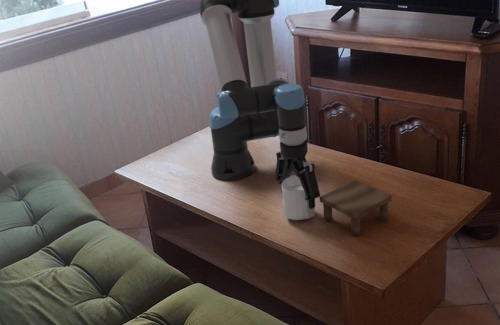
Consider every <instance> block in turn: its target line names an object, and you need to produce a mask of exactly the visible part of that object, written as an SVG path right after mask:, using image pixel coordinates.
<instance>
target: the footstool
mask: <svg viewBox="0 0 500 325" xmlns="http://www.w3.org/2000/svg"><path fill="white" fill-rule="evenodd" d="M392 199H393V198H392V195H391V194H388V193H386V192H384V191H381V190H379V189H377V188H375V187H372V186H370V185H368V184H365V183H363V182H360V181H358V180H356V179H354V180H353V181H349V182H347V183H346V184H343V185H342V186H340V187H338V188H336V189H333V190H331V191H329V192H327V193H325V194H322V195H320V197H319V202H320V203H322V207H323V221H324V222H326V223H330V222H332V221H333V219H334V218H333V209H334V210H336V211H338V212H340V213H341V214H344V215H346V216H347V217H349V218H350V224H351V225H350V226H351V227H350V228H351V236H352V237H356V238H357V237H360V236H361V217H363V216H365V215H366V214H368V213H371V212H373V211H375V210H376V209H378V208H379V221H381V222H388V221H389V203H390V202H391V201H392Z"/></svg>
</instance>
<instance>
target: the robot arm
mask: <svg viewBox="0 0 500 325" xmlns="http://www.w3.org/2000/svg"><path fill="white" fill-rule="evenodd" d="M279 6H280V0H200V4H199V14H200V19H201V21H202V23H203V24H204V25H205V27H206V30H207V34H208V38H209V42H210V46H211V51H212V55H213V59H214V64H215V69H216V72H217V77H218V80H219V87H220V90H221V91H220V92H217V93H216V105H217V106H216V107H215V108H213V109H212V110H211V111H210V113H209V116H208V117H209V129H210V132H211V133H210V134H211V140H212V146H213V147H212V148H213V156H212V159H211V160H212V161H211V168H210V170H211V175H212V177H213V178H215V179H216V180H217V179H218V180H222V181H237V180H241V179H244V178H246V177H249V176H250V175H252V174H253V173H254V172H255V171H256V164H255V160H254V158H253V156H252V155H251V152H250V150H249V148H248V146H249V145H248V142H251V141H255V140H261V139H268V138H276V137H278V136H279V149H280V151H277V152H276V167H275V175H274V180H275V181H276V182H278V184H279V185H280V193H281V196H282V198H281V199H282V200H283V192H282V182H283V181H284V179H286V178H288V177H290V176H292V172H293V173H295V174H294V175H296V176H297V177H299V179H300V182H301V184H302V187H303V189H304V191H305V194H306V198H305V209H306V218H307V219H306V220H308V219H310V218H313V217H315V216H316V211H315V209H316V199H317V198H320V197H321V192H320V189H319V185H318V184H319V183H318V181H317V180H318V179H317V176H316V173H315V164H314V163H313V162H312V163H309V162H307V159H306V157H307V154H308V140H307V138H308V135H307V124H306V123H307V121H306V120H307V119H306V118H307V117H306V105H305V102H306V96H305V95H304V94H305V92H304V88H303V86H302V85H300V84H296V83H289V82H287V80H285V79H283V78H277V73H276V72H277V71H276V61H275V60H276V59H275V53H274V42H273V31H272V22H271V20H272V19H273V17H274V15H275V14H276V13H275V9H276V8H278V7H279ZM233 14H237V18H238V19H239V20H240V22H242V23H243V27H244V36H245V37H244V38H245V46H246V54H247V61H248V70H249V71H248V72H249V79H250V86H249V87H248V82H247V78H246V75H245V72H244V66H243V63H242V58H241V54H240V51H239V47H238V43H237V39H236V35H235V30H234V26H233V24H232V18H233Z"/></svg>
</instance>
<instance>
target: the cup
mask: <svg viewBox="0 0 500 325" xmlns="http://www.w3.org/2000/svg"><path fill="white" fill-rule="evenodd" d="M282 192H283V199H282V210H283V213H284V216H285V218H287V219H289V220H292V221H302V220H308V219H307V218H306V209H305V198H306V194H305V191H304V189H303V187H302V184H301V182H300V179H299V177H297V176H296V174H294V175H290V177H288V178H286V179H284V181H283V182H282ZM282 192H281V193H282Z"/></svg>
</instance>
